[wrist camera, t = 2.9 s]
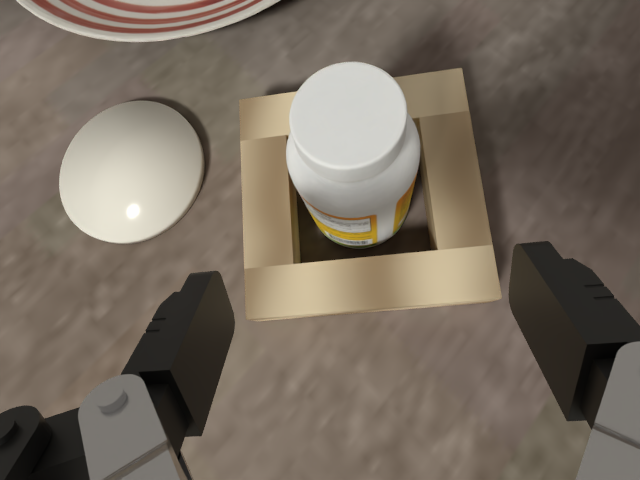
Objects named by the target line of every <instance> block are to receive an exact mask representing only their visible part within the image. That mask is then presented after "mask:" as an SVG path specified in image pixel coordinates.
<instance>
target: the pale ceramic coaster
mask: <svg viewBox="0 0 640 480" xmlns="http://www.w3.org/2000/svg"><path fill="white" fill-rule="evenodd" d="M204 167H205V160H204V152H203V147H202V144H201V141H200V139H199V137H198V135H197V133H196V131H195V130H194V129H193V127H192V126H191V125H190V123H189V122H188V121H187V120H186V119H185V118H184V117H183V116H182V115H181V114H180V113H178V112H177V111H175V110H174V109H172V108H170V107H168V106H166V105H164V104H161V103H158V102H152V101H130V102H125V103H121V104H118V105H115V106H113V107H110V108H108V109H106V110H104V111H103V112H101V113H99V114H98V115H96V116H95V117H94V118H92V119H91V120H90V121H89V122H88V123H87V124H85V125H84V126H83V127H82V128H81V130H80V131H79V132H78V133H77V134H76V136H75V137H74V139H73V140H72V142H71V143H70V145H69V147H68V149H67V151H66V153H65V156H64V158H63V162H62V165H61V170H60V177H59V188H60V196H61V200H62V204H63V206H64V208H65V211H66V213H67V214H68V216H69V217H70V219H71V220H72V221H73V222H74V224H75V225H76V226H77V227H79V228H80V229H81V230H82V231H83V232H85V233H87V234H88V235H90V236H92V237H95V238H97V239H100V240H103V241H106V242H110V243H115V244H134V243H140V242H144V241H147V240H150V239H152V238H155V237H157V236H159V235H161V234H162V233H164V232H166V231H167V230H169V229H170V228H171V227H173V226H174V225H175V224H176V223H178V222H179V221H180V220H181V219H182V218H183V217H184V215H185V214H186V213H187V212H188V210H189V209H190V208H191V206H192V204H193V203H194V201H195V199H196V197H197V195H198V193H199V191H200V188H201V185H202V181H203V176H204Z"/></svg>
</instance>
